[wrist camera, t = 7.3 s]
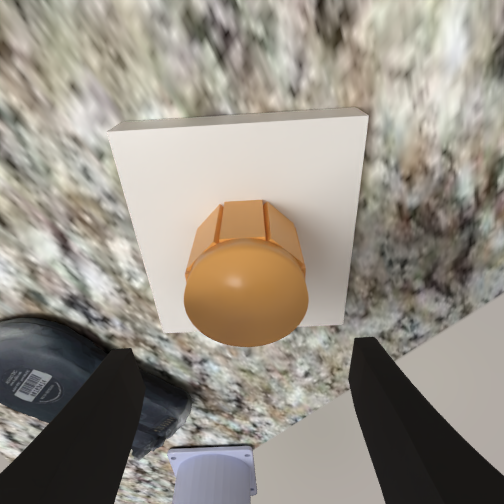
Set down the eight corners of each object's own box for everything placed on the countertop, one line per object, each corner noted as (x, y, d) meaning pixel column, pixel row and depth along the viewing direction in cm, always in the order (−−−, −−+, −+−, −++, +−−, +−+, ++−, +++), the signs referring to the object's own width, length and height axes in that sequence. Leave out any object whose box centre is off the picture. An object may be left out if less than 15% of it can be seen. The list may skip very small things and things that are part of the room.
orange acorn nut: (294, 281, 18) (306, 344, 15) (204, 285, 19) (193, 349, 15) (296, 197, 16) (311, 248, 12) (190, 203, 16) (172, 255, 12)
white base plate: (335, 302, 22) (356, 365, 18) (170, 310, 22) (151, 374, 18) (355, 107, 15) (395, 132, 11) (121, 121, 16) (75, 152, 12)
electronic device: (203, 361, 28) (2, 291, 21) (197, 433, 24) (-53, 376, 17) (149, 399, 33) (-29, 353, 26) (136, 465, 29) (-78, 430, 22)
